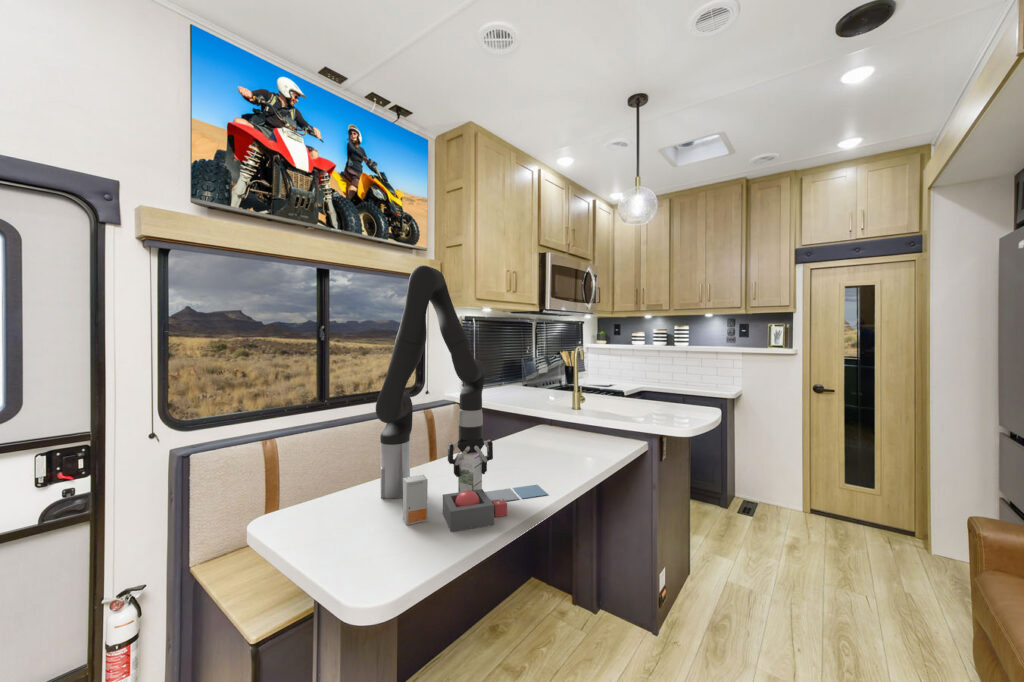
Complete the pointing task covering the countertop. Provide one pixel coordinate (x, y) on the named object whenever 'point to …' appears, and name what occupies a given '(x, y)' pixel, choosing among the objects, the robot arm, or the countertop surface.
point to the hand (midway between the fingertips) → (470, 474)
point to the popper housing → (472, 512)
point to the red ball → (467, 499)
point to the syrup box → (470, 472)
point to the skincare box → (415, 499)
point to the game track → (521, 491)
